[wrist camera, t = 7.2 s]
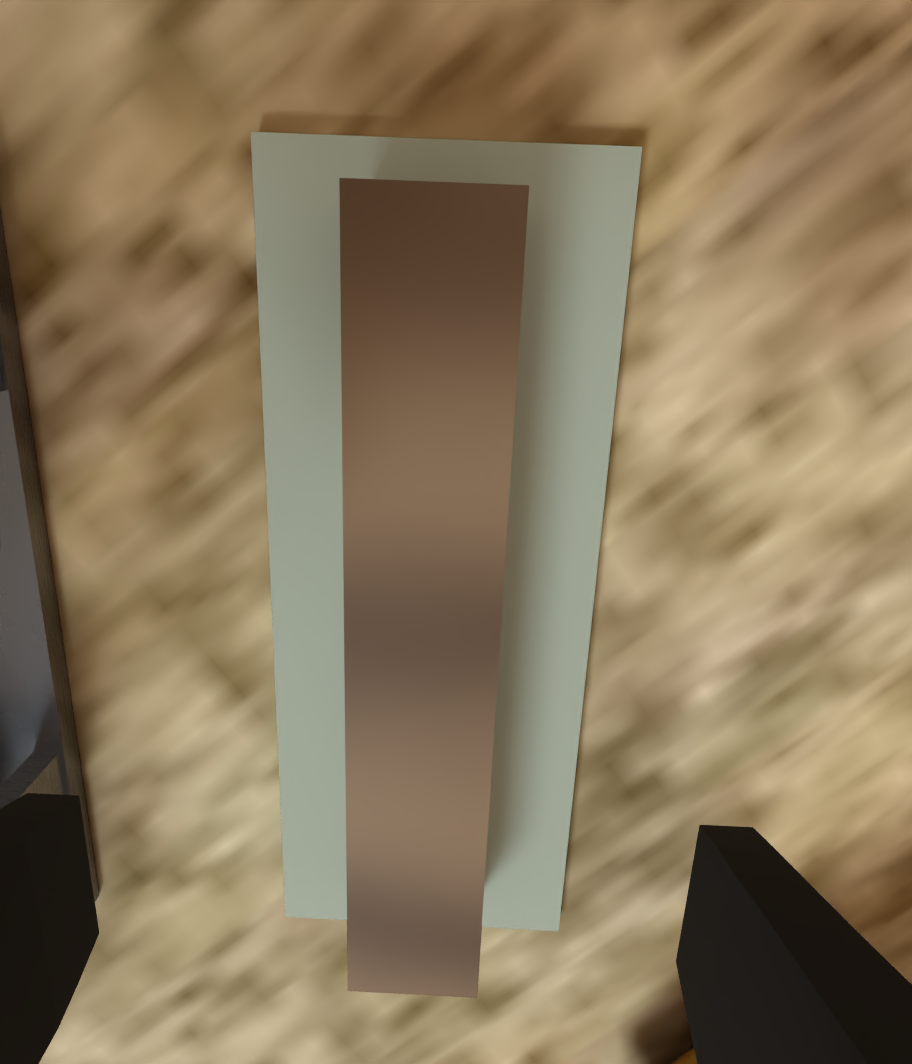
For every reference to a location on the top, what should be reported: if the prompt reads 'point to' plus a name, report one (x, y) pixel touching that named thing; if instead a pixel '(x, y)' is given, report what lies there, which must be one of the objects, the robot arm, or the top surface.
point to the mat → (534, 500)
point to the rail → (424, 562)
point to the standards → (29, 606)
